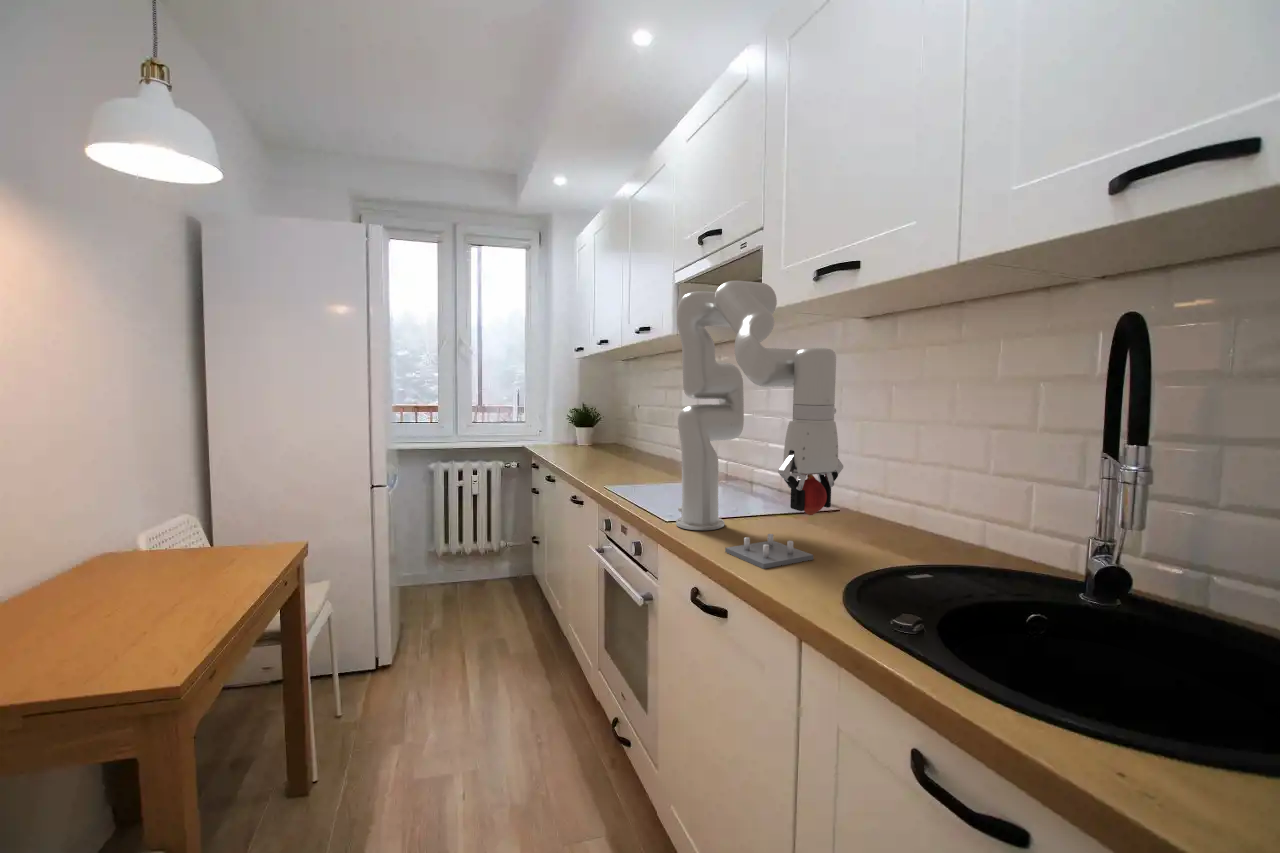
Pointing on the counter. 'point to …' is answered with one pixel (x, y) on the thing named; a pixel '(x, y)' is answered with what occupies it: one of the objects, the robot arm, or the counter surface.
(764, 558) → the pin tray
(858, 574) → the counter surface
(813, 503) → the onion
